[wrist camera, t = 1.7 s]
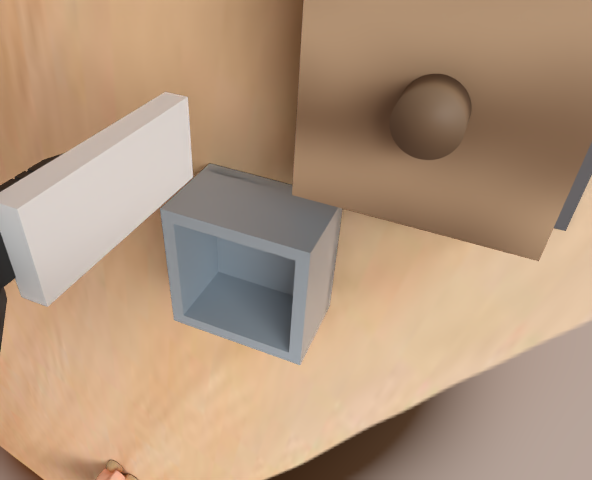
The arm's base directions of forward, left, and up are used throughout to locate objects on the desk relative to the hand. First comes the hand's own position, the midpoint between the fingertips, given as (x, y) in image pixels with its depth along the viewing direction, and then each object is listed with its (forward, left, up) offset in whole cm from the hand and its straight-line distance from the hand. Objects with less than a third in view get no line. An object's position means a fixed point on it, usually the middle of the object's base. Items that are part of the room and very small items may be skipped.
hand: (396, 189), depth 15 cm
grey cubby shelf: (+12, -8, -10) cm, 17 cm away
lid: (0, 0, -10) cm, 10 cm away
